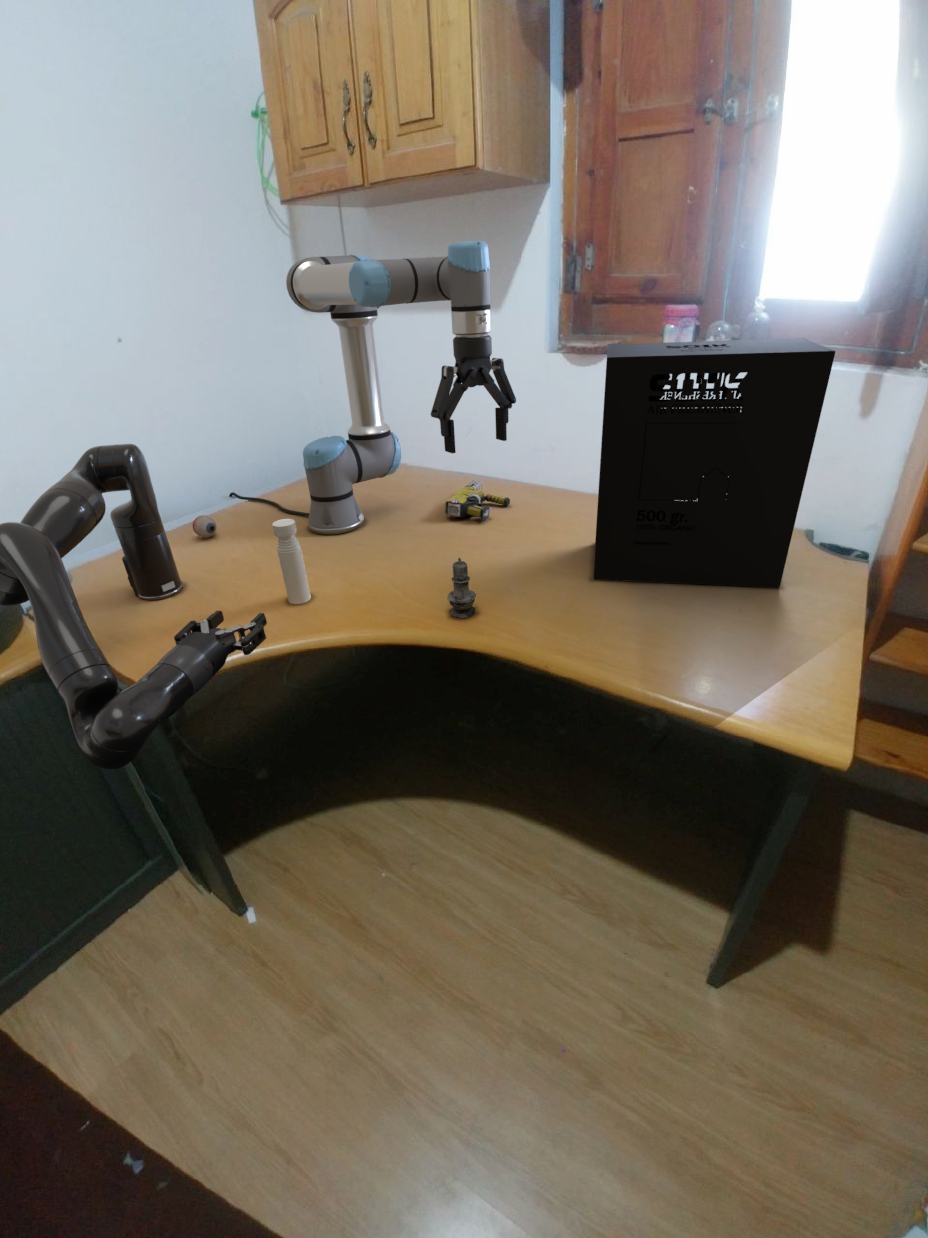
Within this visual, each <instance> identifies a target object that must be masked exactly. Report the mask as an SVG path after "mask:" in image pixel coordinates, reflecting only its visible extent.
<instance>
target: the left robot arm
mask: <svg viewBox="0 0 928 1238" xmlns="http://www.w3.org/2000/svg"><path fill="white" fill-rule="evenodd" d="M149 470H150V469H149V466H148V464H147V460H146V457H145V455H144V454H143V452H142V450H141V449H140V448H139V446H137V445H136V444H133V443H119V444H107V445H106V444H105V445H98V446H97V445H96V446H93V447H90V448H88V449H87V450H86V451H85V452H84V453H83V454H82V455H81V456H80V458H79V459H78V460H77V461H76V463H75V464H74V466H73V467H72V468H71V470H70V471H68V472H67V473H66V474H65V475H63V476H62V478H60V479H59V480H58V481H57V482H56V483H54V484H53V485H51V486H50V487H49V488H48V489H47V490H45V492H43V493H42V494H41V495H40V496H39V497H38V498H37V500H36V501H35V502H33V504H32V505H31V506H30V507H29V509H28V511H26V513H25V515H24V516H23V518H22V519H21V520H20V522H15V521H7V522H2V523H0V606H4V607H8V606H9V607H11V606H18V605H21V604H25V603H27V602H29V604H30V607H31V610H32V611H31V612H32V615H33V620H34V629H35V635H36V642H37V648H38V652H39V656H40V660H41V662H42V665H43V667H44V669H45V671H46V673H47V675H48V676H49V679H50V681H52V683H53V685H54V687H55V689H56V690H57V692H58V693H59V695H60V697H61V698H62V700H63V701H64V703H65V706H66V710H67V715H68V719H69V723H70V724H71V728H72V731H73V734H74V737H75V741H76V742H77V746H78V747H79V749H80V751H81V753H82V754H83V755H84V757H85V758H86V759H87V760H88V761H89V762H91V763H92V764H93V765H94V766H96V767H99V768H102V769H104V770H117V769H121V768H123V767H125V766H127V765H129V764H130V763H131V762H132V761H133V760H134V759H135V758H136V757H137V755H138V754H139V752H140V750H141V749H142V747H143V746H144V744H145V743H146V741H147V739H148V738H149V737H150V735H151V734H152V733H153V732H154V730H156V728H157V727H158V725H160V724H161V722H162V721H164V720H167V719H168V718H170V717H172V716H173V715H174V714H175V713H177V712H178V711H179V710H180V709H181V708H182V707H183V706H184V705H185V704H186V703H187V702H188V700H190V698H191V697H193V696H194V695H195V694H197V693H198V692H199V691H200V690H202V689H203V688H204V686H205V685H207V683H208V682H210V681H211V679H213V678H214V676H216V675H217V673H218V672H220V670H221V669H222V668H223V667H224V666H225V664H226V661H227V658H228V656H229V655H231V654H232V653H234V652H236V651H242V654H243V656H248V655H249V656H250V654H252V653H253V652H254V651H255V650H256V649H257V648H258V647H259V646H260V645H261V644H262V643H263V642H264V641H265V640H267V635H266V631H265V627H266V626H267V624H268V621H267V617H266V615H265V613H264V612H259V613H258V614H257V615H256V616H254V618H253V619H252V620H250V621H249V623H246V624H244V625H241V624H237V625H234V626H232V627H228V628H219V627H218V626H220V625H221V624H223V622H224V621H225V618H224V615H223V611H222V610H216V611H214V612H213V613H211V614H210V615H209V616H208V617H206V618H205V619H201V620H200V621H198V622H197V620H191V621H189V622H188V623H187V624H185V626H183V627H182V628H181V629H180V630H179V631H178V632H177V633H176V634H175V635H174V636H173V639H174V642H175V645H174V647H172V648H171V649H170V650H169V651H168V652H166V653H165V654H164V655H163V656H162V657H161V659H159V660H158V662H157V663H156V664H155V665H154V666H153V667H152V668H151V669H150V670H149V671H147V672H146V673H144V675H143V676H142V677H141V678H140V679H139V680H137V682H135V683H133V684H131V685H130V686H128V687H126V688H124V689H123V690H121V691H120V692H118V690H119V679H118V676H117V674H116V672H115V670H114V668H113V667H112V666H111V664H110V661H108V659H107V657H106V655H105V654H104V652H103V651H102V649H101V648H100V646H99V644H98V643H97V641H96V640H95V638H94V636H93V635H92V632H91V630H90V628H89V626H88V624H87V622H86V620H85V618H84V616H83V613H82V610H81V607H80V605H79V602H78V599H77V597H76V594H75V592H74V589H73V586H72V584H71V581H70V578H69V575H68V573H67V570H66V568H65V564H64V562H63V558H64V557H66V555H68V554H69V553H70V552H71V551H72V550H74V549H75V548H76V547H77V546H78V545H79V544H80V543H81V542H82V541H83V540H84V539H86V538H87V537H88V536H89V535H90V534H91V533H92V532H93V530H94V529H95V528H96V527H97V526H98V525H99V524H100V522H101V521H102V520H103V518H104V516H105V514H106V508H107V507H106V501H105V498H104V496H103V494H106V493H113V492H127V491H129V493H130V499H129V500H128V501H126V502H124V503H122V504H120V505H117V506H116V507H114V508H113V509H112V510H111V511H110V520H111V522H112V525H113V527H114V531H115V533H116V536H117V539H118V541H119V544H120V547H121V549H122V553H123V556H122V557H121V561H122V564H123V566H124V569H125V571H126V574H127V580H128V583H129V585H130V588H132V591H133V594H134V596H135V597H139V599H140V600H144V601H157V600H162V599H163V600H164V599H166V598H169V597H172V596H174V595H176V594H178V593H180V591H182V589H183V587H184V585H183V582H182V580H181V577H180V574H179V570H178V567H177V564H176V561H175V558H174V555H173V551H172V548H171V546H170V545H171V544H170V543H169V539H168V536H167V533H166V530H165V527H164V524H163V521H162V517H161V515H160V512H159V507H158V501H157V497H156V494H155V490H154V486H153V482H152V479H151V475H150V471H149ZM246 631H249V632H248V633H247V634H246V633H245V632H246ZM235 633H237V635H238V640H237V639H236V635H235Z"/></svg>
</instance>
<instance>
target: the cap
mask: <svg viewBox="0 0 928 1238" xmlns="http://www.w3.org/2000/svg"><path fill="white" fill-rule="evenodd" d="M271 526H272V530H273V535H274V536H275V537H276V538H279V537H289V536H292V535H294V536H295V535H296V534H297V532H298V530H297V529H298V528H297V524H296V521H295V519H293V518H282V519H278V520H275V521H273V523H272V525H271Z"/></svg>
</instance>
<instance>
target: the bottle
mask: <svg viewBox="0 0 928 1238" xmlns="http://www.w3.org/2000/svg"><path fill="white" fill-rule="evenodd" d="M276 550H277V555H278V559H279V564H280V570H281V573H282V577H283V582H284V586H285V590H286V595H287V600H288V603H289V604H291V605H303V604H306V603H308V602H309V601H311V598H312V596H311V590H310V586H309V581H308V576H307V570H306V566H305V561H304V556H303V551H302V546H301V543H300V542H299V540H298V538H297V537H296V535H295V534H294V535H292V536H289V537H277V547H276Z"/></svg>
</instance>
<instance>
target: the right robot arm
mask: <svg viewBox="0 0 928 1238" xmlns="http://www.w3.org/2000/svg"><path fill="white" fill-rule="evenodd" d="M490 263H491V262H490V252H489V245H488V244H487V242H485V241H484V240H466V241H455V242H451V243H450V244H449V245H448V247H447V256H431V257H430V256H427V257H413V258H411V257H410V258H391V259H390V258H386V259H374V258H370V257H369V256H367V255H358V254H349V255H328V256H326V255H325V256H310V257H305V258H302V259H300V260H298V261H296V262H295V263H293V265H291V267H290V268H289V269H288V272H287V275H286V281H285V282H286V283H285V284H286V285H285V286H286V290H287V293H288V296H289V297H290V299H291V300H292V303H294V304H295V305H296V306H298V307H299V308H300V309H302V310H304V311H306V312H310V313H318V314H319V313H320V314H321V313H330V320H331V321H332V322H333V323H334V324H335V325H336V326H337V327H338V332H339V333H338V334H339V339H340V347H341V355H342V361H343V369H344V375H345V382H346V383H345V384H346V389H347V396H348V404H349V410H350V418H351V425H350V426H349V428H348V430H347V436H348V439H345V437H343V436H341V435H332V436H324V437H321V438H318V439H315V440H312V441H311V442H309V443H308V444H306V445H305V446H304V448H303V450H302V457H303V459H302V460H303V467H304V471H305V476H306V481H307V486H308V492H309V498H310V507H309V512H303V511H296V510H291V509H287V508H285V507H283V506H281V505H280V504H279V503H277V502H275V501H272V500H270V499H265V498H261V497H250V496H243V495H242V496H241V495H239V494H237V492H234V491H233V492H230V493H229V495H228V497H230V498H231V497H235V498H237V499H238V500H244V501H255V502H263V503H266V504H270V505H272V506H274V507H277V508H278V509H279V510H280V511H282V512H284V513H288V514H291V515H297V516H304V517H308V521H307V522H308V523H307V524H308V528H309V529H308V530H310V531H311V532H312V533H314V534H317V535H323V536H324V535H325V536H327V535H329V536H331V535H339V534H340V535H341V534H345V533H350V532H353V531H355V530H357V529H359V528H361V527H362V526H363V525H364V523H365V516H364V514H363V512H362V510H361V508H360V505H359V504H358V501H357V500H356V498H355V495H354V489H353V485H354V484H355V485H356V484H359V483H363V482H368V481H371V480H375V479H381V478H385V477H387V476H390V475H392V474H394V473H396V472H397V470H398V469H399V467H400V465H401V462H402V446H401V443H400V441H399V437H398V436H397V435H396V434H395V432H394V431H391V426H390V425H388V423H386V422H385V420H384V419H385V418H384V410H383V402H382V393H381V385H380V377H379V368H378V367H379V366H378V358H377V349H376V341H375V331H374V324H375V322H376V320H377V319H378V317H379V314H378V309H379V308H381V307H385V306H394V305H403V304H405V305H406V304H417V303H419V304H420V303H427V302H428V303H429V302H444V301H448V302H449V301H450V311H451V313H450V314H451V315H450V316H451V334H453V335H454V337H453V339H452V350H453V358H454V359H455V363H454V366H452V365H442V366H441V373H440V374H441V375H440V376H441V377H440V381H439V384H438V388H437V390H436V395H435V398H434V401H433V404H432V407H431V411H430V416H431V418H435V419H438V421H439V426H440V435H441V437H443V441H444V442H443V443H444V452H446V453H450V454H456V433H455V420H454V419H451V418H452V416H453V414H454V413H455V410H456V409H457V406H458V404H459V402H460V401H461V399H462V397H463V396H464V393H465V392H466V391H468V389H469V388H474V387H477V386H478V387H482V386H483V387H484V389H485V390H486V391H487V392H488V394H489V396H491V398H492V399H493V401H494V402H495V403H496V405H497V406H498V407H495V408H494V410H495V411H494V413H495V414H494V415H495V439H496V440H499V441H502V442H507V441H508V438H507V435H508V433H507V424H509V410H510V409H512V407H513V404H516V403H517V398H516V394H515V393H514V390H513V388H512V385H511V383H510V380H509V378H508V375H507V373H506V370H505V363H504V362H505V361H504V359H503V358H499V357H493V358H491V356H492V354H493V346H492V344H493V343H492V340H493V339H492V336H491V335H489V333H491V332H492V315H491V314H492V312H491V311H492V309H491V264H490ZM491 370H492V374H493V376H494V378H493V376H492V375H491ZM455 377H456V378H455ZM454 378H455V380H454ZM495 381H496V383H497V384H496V383H495Z"/></svg>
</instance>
